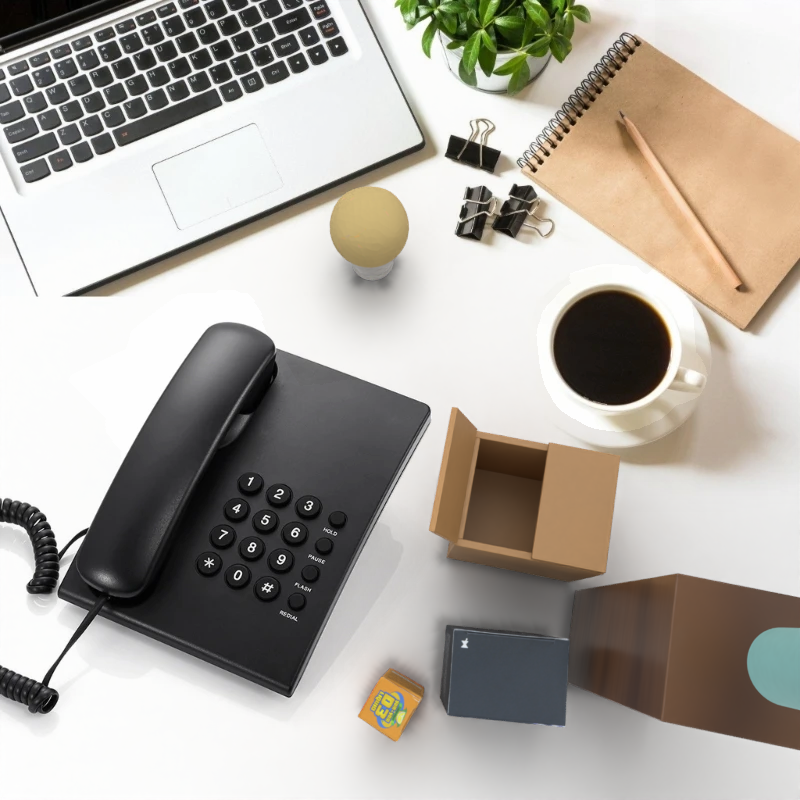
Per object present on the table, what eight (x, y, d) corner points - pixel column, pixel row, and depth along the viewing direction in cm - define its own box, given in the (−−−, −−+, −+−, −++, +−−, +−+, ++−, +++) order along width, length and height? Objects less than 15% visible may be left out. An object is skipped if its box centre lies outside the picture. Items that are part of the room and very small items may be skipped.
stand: (663, 607, 63) (820, 601, 39) (653, 700, 62) (811, 753, 37) (575, 590, 64) (676, 572, 40) (562, 681, 62) (660, 721, 38)
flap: (457, 543, 53) (451, 542, 53) (477, 428, 55) (472, 428, 55) (434, 531, 48) (428, 530, 49) (457, 407, 50) (451, 406, 51)
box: (439, 700, 62) (445, 716, 51) (445, 624, 63) (452, 625, 53) (541, 710, 61) (567, 729, 51) (545, 634, 63) (571, 637, 53)
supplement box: (387, 663, 62) (383, 671, 53) (425, 687, 62) (428, 700, 52) (364, 702, 62) (356, 717, 52) (403, 727, 61) (402, 747, 52)
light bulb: (334, 234, 72) (323, 175, 62) (405, 228, 72) (404, 167, 63) (339, 300, 70) (328, 250, 61) (412, 293, 71) (412, 242, 61)
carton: (446, 557, 64) (454, 544, 53) (463, 461, 67) (475, 427, 55) (570, 582, 64) (606, 574, 52) (583, 484, 66) (622, 455, 54)
